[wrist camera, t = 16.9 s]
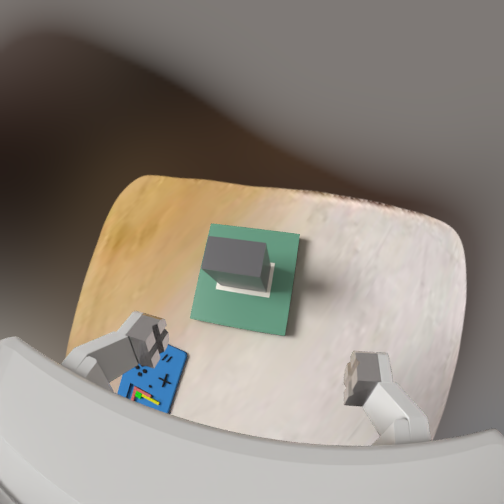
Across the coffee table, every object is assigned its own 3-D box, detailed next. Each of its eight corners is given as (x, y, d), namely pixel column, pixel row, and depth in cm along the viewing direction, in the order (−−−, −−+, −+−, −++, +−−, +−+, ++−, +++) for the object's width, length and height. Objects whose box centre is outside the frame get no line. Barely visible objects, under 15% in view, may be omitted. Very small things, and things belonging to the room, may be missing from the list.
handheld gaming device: (186, 353, 33) (156, 444, 29) (189, 353, 34) (160, 442, 30) (135, 329, 35) (110, 417, 31) (139, 330, 36) (114, 416, 32)
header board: (284, 335, 33) (284, 335, 29) (193, 319, 35) (182, 316, 31) (299, 238, 37) (300, 225, 33) (213, 227, 39) (205, 214, 35)
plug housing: (266, 292, 33) (260, 277, 25) (220, 285, 34) (201, 268, 26) (270, 265, 34) (266, 242, 26) (226, 259, 35) (208, 235, 27)
